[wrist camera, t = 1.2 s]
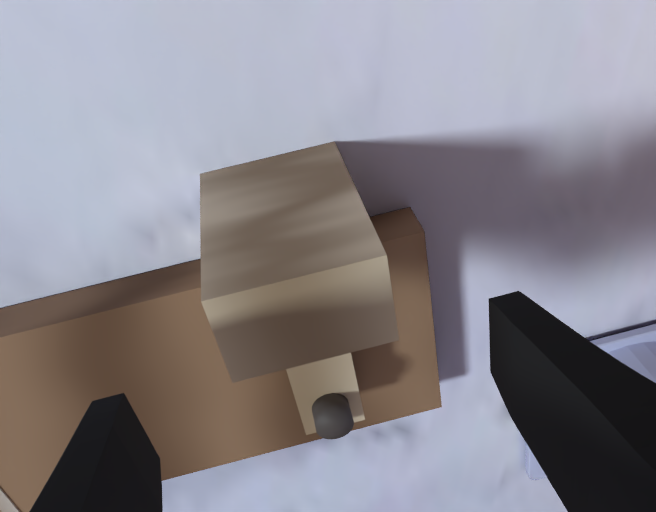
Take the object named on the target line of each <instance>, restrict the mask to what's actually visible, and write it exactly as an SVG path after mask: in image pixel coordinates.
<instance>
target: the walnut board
mask: <svg viewBox="0 0 656 512" xmlns="http://www.w3.org/2000/svg"><path fill="white" fill-rule="evenodd" d="M370 220H371V222H372V224H373V226H374V228H375V230H376V233H377V235H378V237H379V239H380V241H381V243H382V246H383V248H384V250H385V252H386V254H387V260H388V267H389V273H390V280H391V287H392V294H393V301H394V308H395V315H396V322H397V329H398V335H399V340H398V341H394V342H390V343H386V344H382V345H379V346H375V347H371V348H367V349H363V350H359V351H355V352H351V356H352V361H353V365H354V370H355V375H356V379H357V384H358V389H359V393H360V398H361V403H362V408H363V412H364V417H365V420H362V421H358V422H354V426H353V428H352V430H356V429H360V428H363V427H367V426H371V425H375V424H379V423H382V422H386V421H390V420H394V419H397V418H401V417H405V416H409V415H413V414H416V413H420V412H424V411H428V410H432V409H435V408H439V407H442V406H441V396H440V386H439V375H438V365H437V355H436V345H435V334H434V324H433V314H432V304H431V294H430V283H429V273H428V263H427V253H426V242H425V232H424V230H423V228H422V227H421V225H420V223H419V221H418V220H417V218H416V216H415V215H414V213H413V211H412V210H411V208H410V207H408V208H404V209H400V210H396V211H392V212H388V213H384V214H380V215H376V216H372V217H370ZM121 393H124V394H125V395H126V397H127V399H128V401H129V403H130V405H131V406H132V408H133V410H134V412H135V414H136V415H137V417H138V419H139V421H140V423H141V425H142V426H143V428H144V430H145V432H146V434H147V435H148V437H149V439H150V441H151V443H152V445H153V446H154V448H155V450H156V452H157V454H158V455H159V457H160V464H161V481H163V480H166V479H170V478H174V477H178V476H182V475H185V474H189V473H193V472H197V471H200V470H204V469H208V468H212V467H216V466H219V465H223V464H227V463H231V462H235V461H238V460H242V459H246V458H250V457H254V456H257V455H261V454H265V453H269V452H272V451H276V450H280V449H284V448H288V447H291V446H295V445H299V444H303V443H307V442H310V441H314V440H318V439H322V437H320V436H319V435H318V434H317V432H316V433H312V434H309V435H306V433H305V429H304V426H303V423H302V420H301V416H300V413H299V410H298V407H297V403H296V400H295V397H294V394H293V390H292V387H291V384H290V381H289V377H288V374H287V371H286V369H285V370H281V371H277V372H273V373H269V374H266V375H262V376H258V377H254V378H250V379H246V380H242V381H238V382H234V383H232V380H231V377H230V375H229V372H228V370H227V367H226V365H225V362H224V359H223V357H222V354H221V352H220V349H219V347H218V344H217V341H216V339H215V336H214V334H213V331H212V329H211V326H210V323H209V321H208V318H207V316H206V313H205V311H204V308H203V305H202V303H201V259H198V260H194V261H190V262H186V263H182V264H178V265H174V266H170V267H166V268H162V269H158V270H154V271H150V272H146V273H142V274H138V275H134V276H130V277H126V278H122V279H118V280H114V281H110V282H106V283H102V284H97V285H93V286H89V287H85V288H81V289H77V290H73V291H69V292H65V293H61V294H57V295H53V296H49V297H45V298H41V299H37V300H33V301H29V302H25V303H21V304H17V305H13V306H9V307H5V308H1V309H0V512H29V511H30V510H31V508H32V506H33V505H34V503H35V501H36V499H37V498H38V496H39V494H40V493H41V491H42V489H43V487H44V486H45V484H46V482H47V481H48V479H49V477H50V475H51V474H52V472H53V470H54V468H55V467H56V465H57V463H58V461H59V459H60V458H61V456H62V454H63V452H64V450H65V449H66V447H67V445H68V443H69V441H70V440H71V438H72V436H73V434H74V432H75V430H76V429H77V427H78V425H79V423H80V421H81V420H82V418H83V416H84V414H85V412H86V411H87V409H88V407H89V405H90V404H91V402H92V401H94V400H98V399H102V398H106V397H110V396H113V395H117V394H121ZM352 430H351V431H352Z"/></svg>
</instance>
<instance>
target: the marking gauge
mask: <svg viewBox="0 0 656 512" xmlns="http://www.w3.org/2000/svg"><path fill="white" fill-rule="evenodd" d="M200 230H201V303H202V305H203V308H204V311H205V313H206V316H207V318H208V321H209V323H210V326H211V329H212V331H213V334H214V336H215V339H216V341H217V344H218V347H219V349H220V352H221V354H222V357H223V359H224V362H225V365H226V367H227V370H228V372H229V375H230V377H231V380H232V383H234V382H238V381H242V380H246V379H250V378H254V377H258V376H262V375H266V374H269V373H273V372H277V371H281V370H285V369H286V371H287V374H288V377H289V381H290V384H291V387H292V390H293V394H294V397H295V400H296V403H297V407H298V410H299V413H300V416H301V420H302V423H303V426H304V429H305V433H306V435H309V434H312V433H316V432H317V434H318V435H319V436H320V437H322V438H325V439H337V438H340V437H343V436H345V435H346V434H348V433H349V432H350V431H351V430H352V428H353V426H354V422H358V421H362V420H365V417H364V412H363V408H362V403H361V398H360V393H359V389H358V384H357V379H356V375H355V370H354V365H353V361H352V356H351V352H355V351H359V350H363V349H367V348H371V347H375V346H379V345H382V344H386V343H390V342H394V341H398V340H399V335H398V329H397V322H396V315H395V308H394V301H393V294H392V287H391V280H390V273H389V267H388V260H387V254H386V252H385V250H384V248H383V246H382V243H381V241H380V239H379V237H378V235H377V233H376V230H375V228H374V226H373V224H372V222H371V220H370V217H369V215H368V213H367V211H366V209H365V207H364V204H363V202H362V200H361V198H360V196H359V194H358V191H357V189H356V187H355V185H354V183H353V181H352V178H351V176H350V174H349V172H348V170H347V168H346V165H345V163H344V161H343V159H342V157H341V155H340V152H339V150H338V148H337V146H336V144H335V142H331V143H326V144H322V145H318V146H314V147H310V148H306V149H301V150H297V151H293V152H289V153H285V154H281V155H276V156H272V157H268V158H264V159H260V160H256V161H252V162H247V163H243V164H239V165H235V166H231V167H227V168H222V169H218V170H214V171H210V172H206V173H202V174H200Z"/></svg>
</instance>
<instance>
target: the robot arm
mask: <svg viewBox="0 0 656 512" xmlns="http://www.w3.org/2000/svg"><path fill="white" fill-rule="evenodd" d="M489 329H490V370H491V374H492V376H493V378H494V381H495V383H496V385H497V387H498V390H499V392H500V394H501V397H502V399H503V401H504V403H505V405H506V407H507V409H508V412H509V414H510V416H511V418H512V420H513V421H514V423H515V425H516V426H517V428H518V430H519V431H520V433H521V435H522V436H523V438H524V440H525V441H526V473H527V475H528V477H529V478H530V479H532V480H539V479H543V478H546V477H547V478H548V480H549V481H550V483H551V484H552V486H553V488H554V489H555V491H556V493H557V494H558V496H559V498H560V499H561V501H562V503H563V504H564V506H565V508H566V509H567V511H568V512H656V324H653V325H649V326H646V327H642V328H638V329H634V330H630V331H626V332H623V333H619V334H615V335H611V336H607V337H604V338H600V339H596V340H592V341H589V340H587V339H586V338H584V337H583V336H581V335H580V334H578V333H577V332H576V331H574V330H573V329H571V328H570V327H569V326H567V325H566V324H564V323H563V322H561V321H560V320H559V319H557V318H556V317H554V316H553V315H552V314H550V313H549V312H548V311H546V310H545V309H543V308H542V307H541V306H539V305H538V304H537V303H535V302H534V301H532V300H531V299H530V298H528V297H527V296H525V295H524V294H523V293H521V292H519V291H517V292H513V293H509V294H505V295H501V296H498V297H494V298H490V299H489ZM29 512H162V482H161V464H160V457H159V455H158V454H157V452H156V450H155V448H154V446H153V445H152V443H151V441H150V439H149V437H148V435H147V434H146V432H145V430H144V428H143V426H142V425H141V423H140V421H139V419H138V417H137V415H136V414H135V412H134V410H133V408H132V406H131V405H130V403H129V401H128V399H127V397H126V395H125V394H124V393H121V394H117V395H113V396H110V397H106V398H102V399H98V400H94V401H92V402H91V404H90V405H89V407H88V409H87V411H86V412H85V414H84V416H83V418H82V420H81V421H80V423H79V425H78V427H77V429H76V430H75V432H74V434H73V436H72V438H71V440H70V441H69V443H68V445H67V447H66V449H65V450H64V452H63V454H62V456H61V458H60V459H59V461H58V463H57V465H56V467H55V468H54V470H53V472H52V474H51V475H50V477H49V479H48V481H47V482H46V484H45V486H44V487H43V489H42V491H41V493H40V494H39V496H38V498H37V499H36V501H35V503H34V505H33V506H32V508H31V510H30V511H29Z"/></svg>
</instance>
